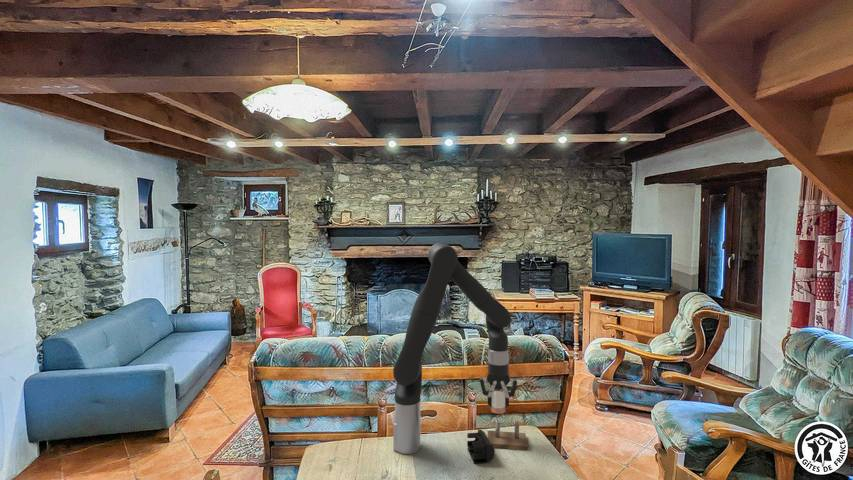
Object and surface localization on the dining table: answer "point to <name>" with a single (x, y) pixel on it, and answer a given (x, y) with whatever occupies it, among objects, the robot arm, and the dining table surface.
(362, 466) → the dining table surface
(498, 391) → the sleeve
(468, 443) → the end cap
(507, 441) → the pin board
